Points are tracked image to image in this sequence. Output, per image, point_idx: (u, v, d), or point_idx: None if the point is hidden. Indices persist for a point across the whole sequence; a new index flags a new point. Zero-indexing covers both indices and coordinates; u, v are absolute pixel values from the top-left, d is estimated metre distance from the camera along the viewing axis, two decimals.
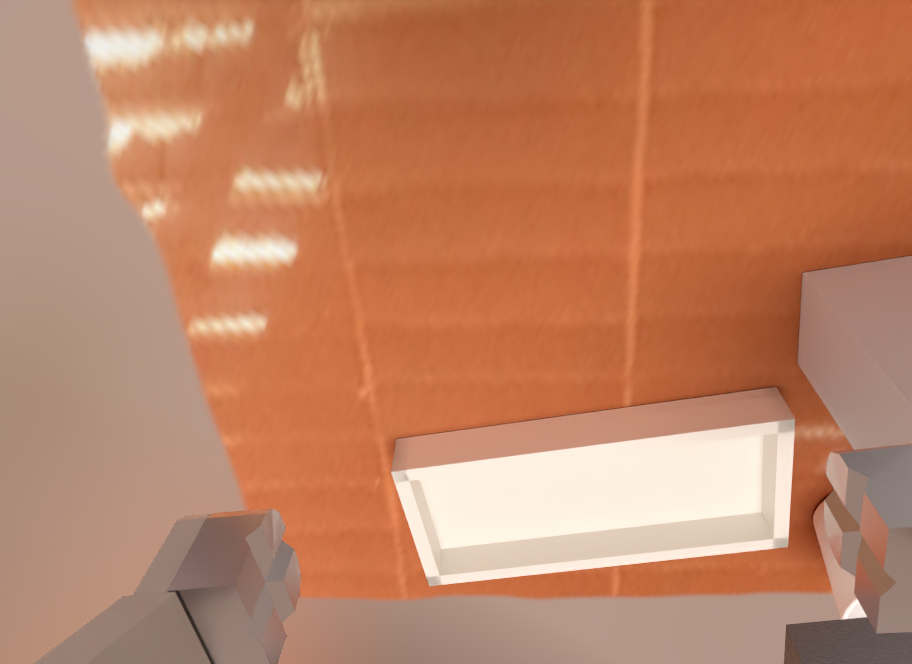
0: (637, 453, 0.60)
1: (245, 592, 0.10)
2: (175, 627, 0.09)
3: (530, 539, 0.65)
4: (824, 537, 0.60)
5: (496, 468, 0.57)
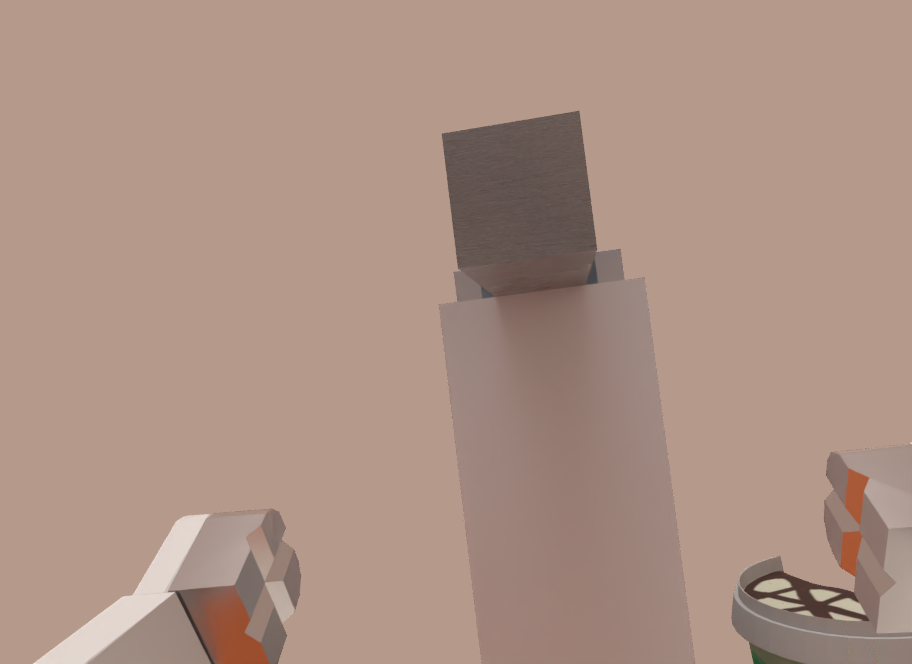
0: None
1: (245, 592, 0.10)
2: (175, 627, 0.09)
3: None
4: None
5: None
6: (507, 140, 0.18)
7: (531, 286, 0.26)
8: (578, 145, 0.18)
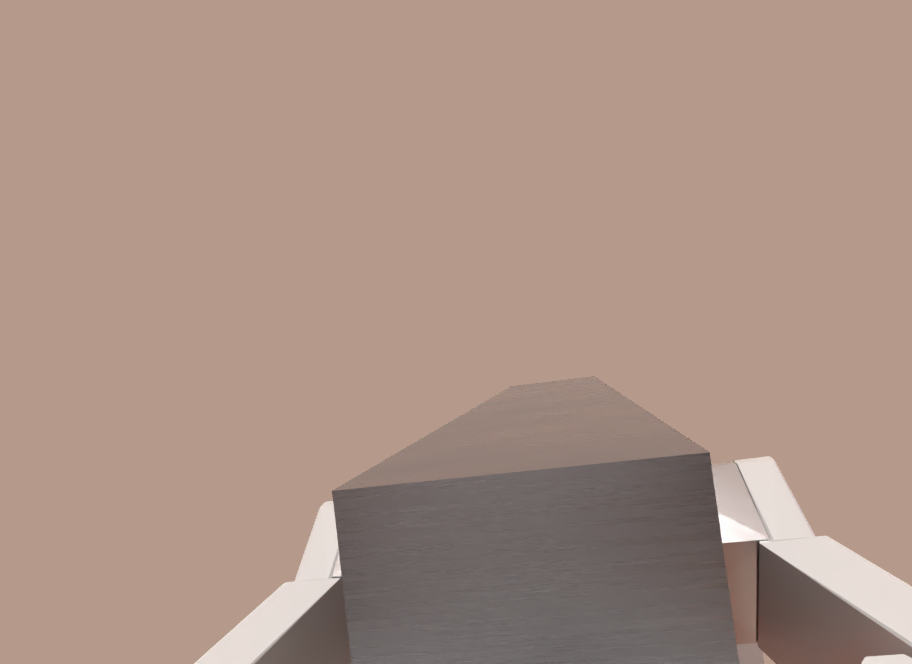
0: None
1: None
2: (339, 614, 0.09)
3: None
4: None
5: None
6: (508, 522, 0.07)
7: None
8: (708, 551, 0.06)
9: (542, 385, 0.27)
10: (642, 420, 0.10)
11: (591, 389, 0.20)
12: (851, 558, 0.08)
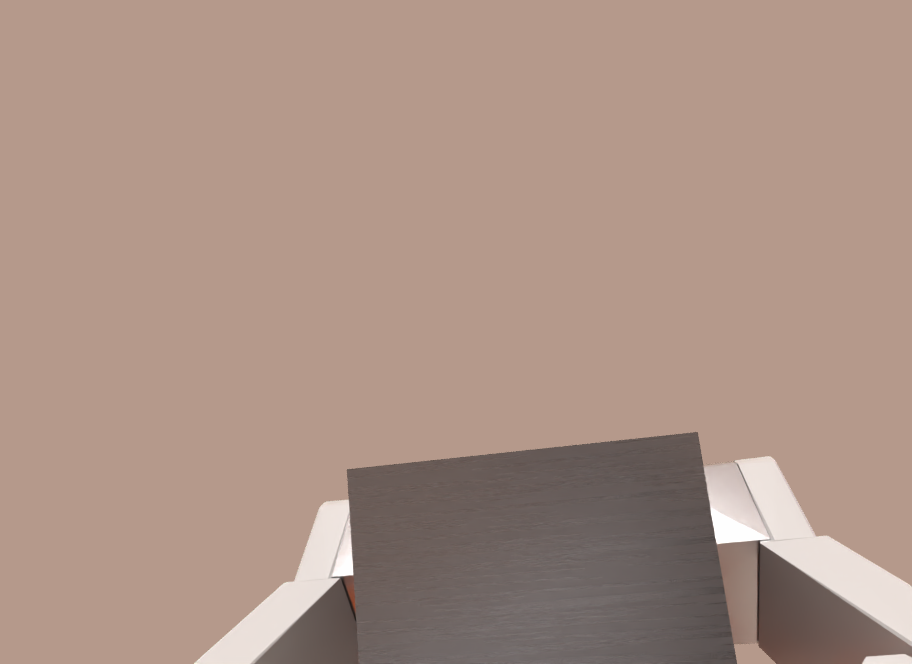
0: None
1: None
2: (339, 614, 0.09)
3: None
4: None
5: None
6: (510, 499, 0.07)
7: None
8: (699, 526, 0.07)
9: None
10: None
11: None
12: (852, 558, 0.08)
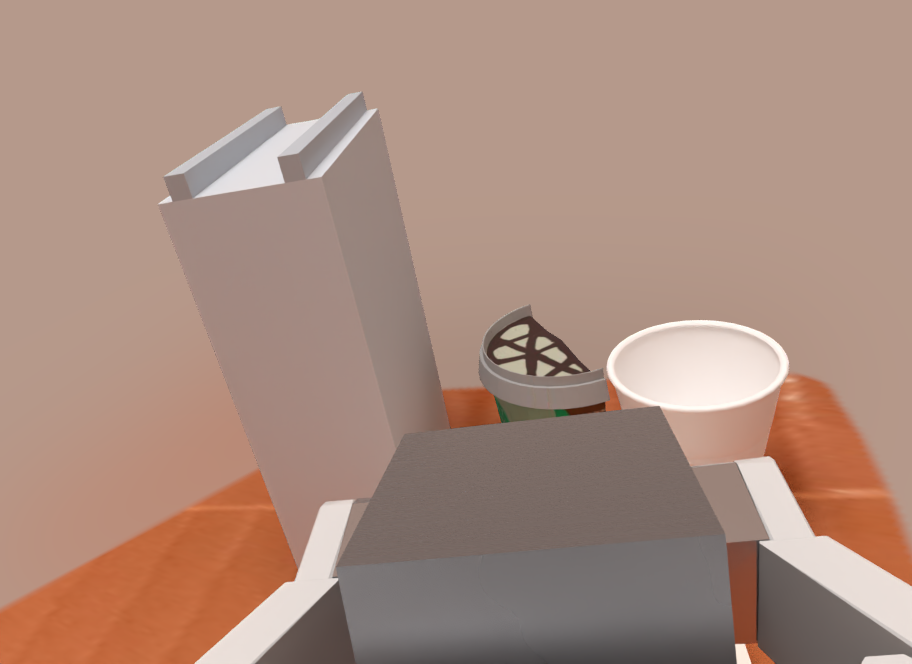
0: None
1: None
2: (339, 614, 0.09)
3: None
4: None
5: None
6: (520, 432, 0.09)
7: None
8: (660, 428, 0.09)
9: None
10: None
11: None
12: (851, 558, 0.08)
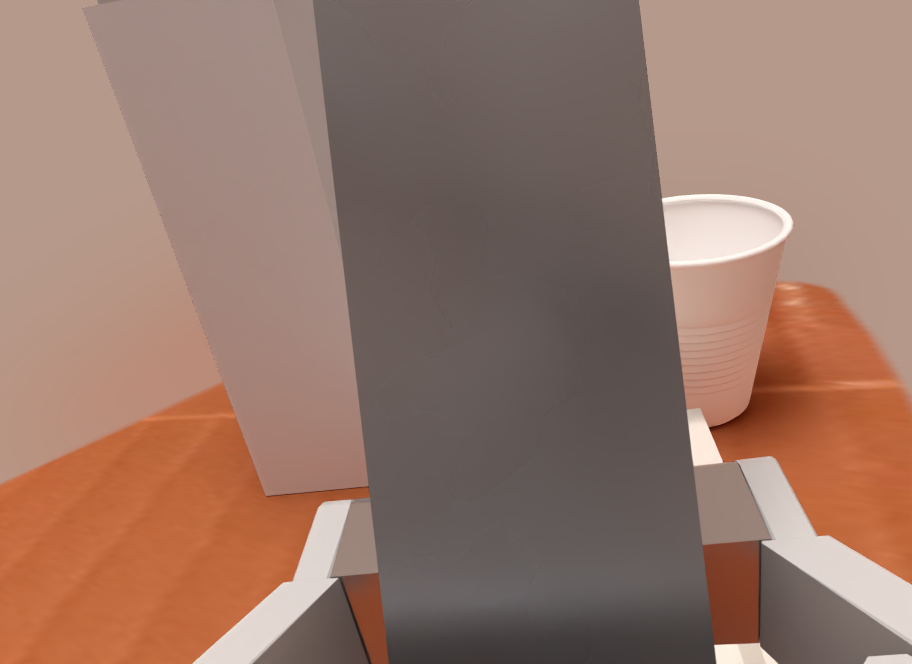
0: None
1: None
2: (337, 614, 0.09)
3: None
4: (684, 382, 0.38)
5: None
6: None
7: (512, 531, 0.08)
8: None
9: None
10: None
11: None
12: (853, 558, 0.08)
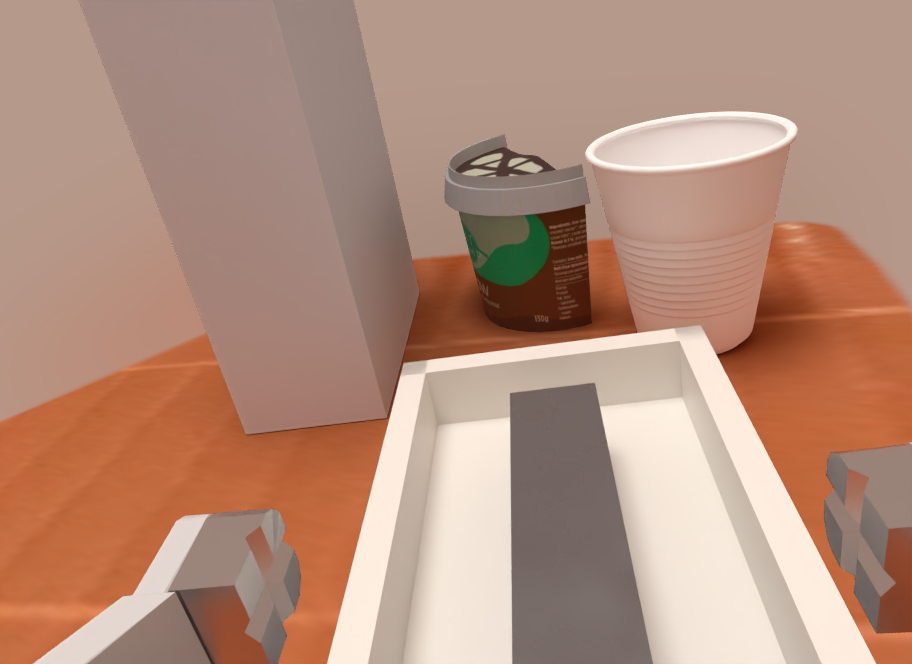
0: (495, 580, 0.26)
1: (245, 592, 0.10)
2: (175, 627, 0.09)
3: None
4: (684, 304, 0.36)
5: None
6: None
7: (558, 516, 0.23)
8: None
9: None
10: None
11: None
12: None
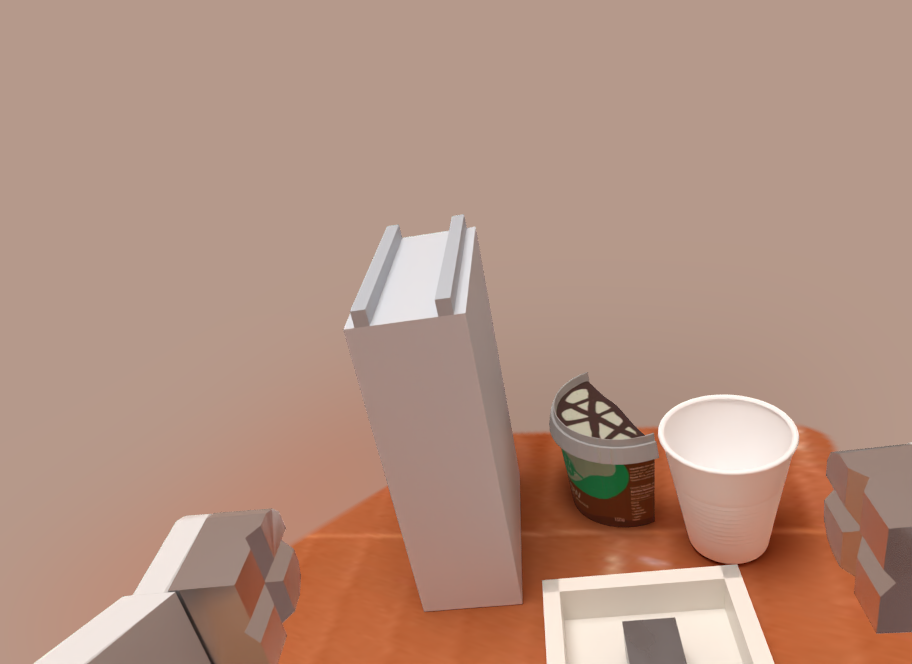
0: None
1: (245, 592, 0.10)
2: (175, 627, 0.09)
3: None
4: (724, 537, 0.55)
5: None
6: None
7: None
8: None
9: None
10: None
11: None
12: None
